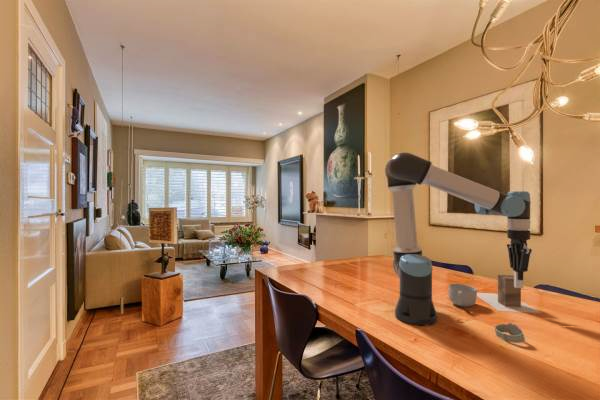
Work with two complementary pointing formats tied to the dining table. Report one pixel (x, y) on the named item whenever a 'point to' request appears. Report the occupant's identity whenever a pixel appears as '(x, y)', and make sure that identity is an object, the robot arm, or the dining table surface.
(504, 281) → the walnut block
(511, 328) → the wristwatch
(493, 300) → the mat
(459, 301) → the teacup
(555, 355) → the dining table surface
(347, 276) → the dining table surface
